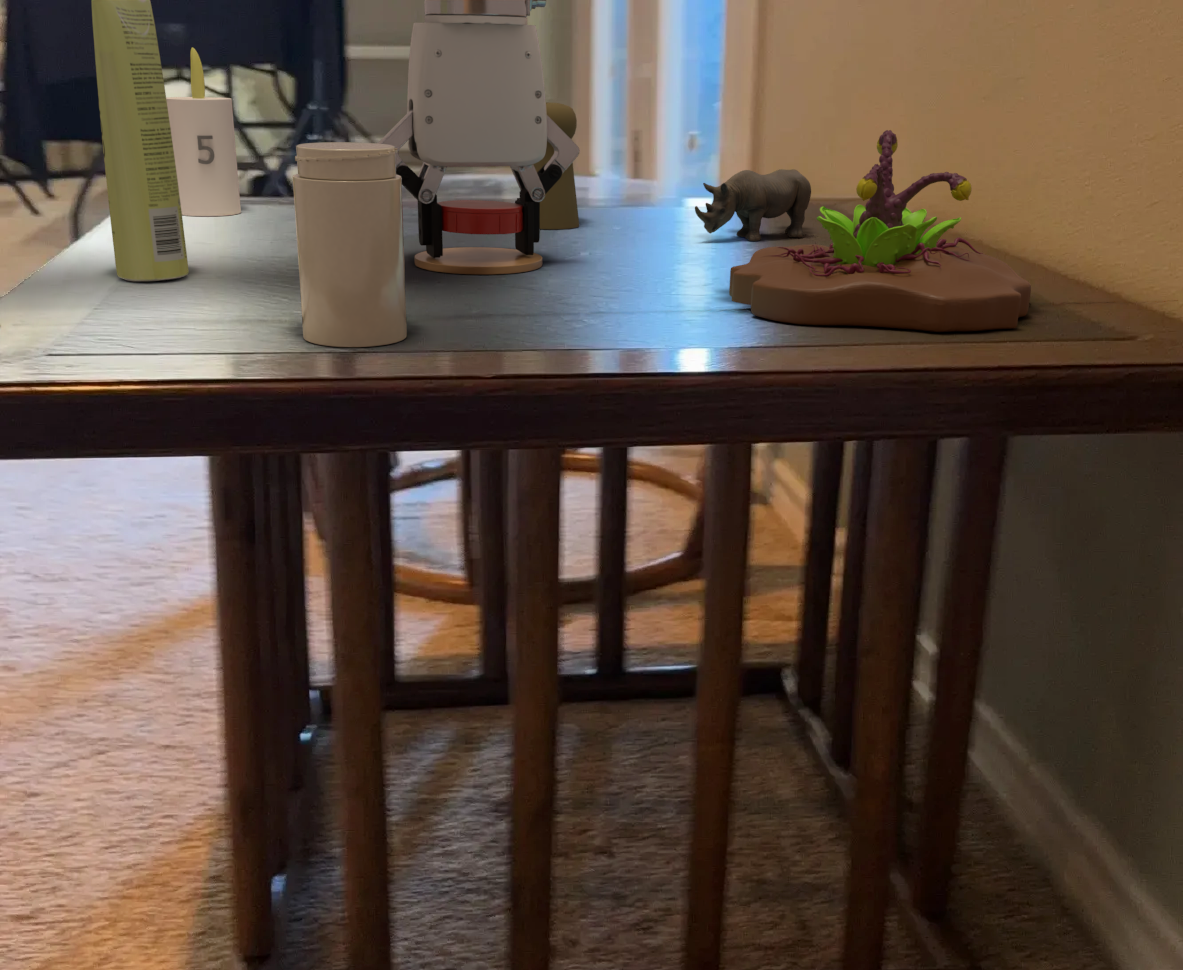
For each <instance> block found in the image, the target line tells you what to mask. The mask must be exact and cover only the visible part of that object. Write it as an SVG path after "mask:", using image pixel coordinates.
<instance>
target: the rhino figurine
mask: <svg viewBox="0 0 1183 970" xmlns="http://www.w3.org/2000/svg"><path fill="white" fill-rule="evenodd" d="M702 185H703V187H704V189H705V190H706V191H707V192H709V193H710V194H711V195H712V196H713V199H712V203H709V202H706V203H705V209H706V212H705V211H701V209H700V208H699V207H698V206H697V205H695V206H694V212H695V214H696V216H697V217H698V218H699V219H700V221H702V222H703V227H704V229H705V230H706V232H707V233H708V234H712V233H715V232H716V231H718V230H719V229H720V228H722V227H723V226H724V225H726V224H727V223H728V222H730V221H731V220H732V219H733V217H734V215H735V213H736V216H737V218H739V220H740V222H741V224H742V227H741V228H740V229H739V230H737V232H736V234H735V235H736V236H737V237H741V238H745V240H748V241H749V242H758V241H761V239H762V235H761V232H760V229H761V224H762V220H763V218H764V219H775V218H779V217H780V216H782V215H784V214H785V213H786V214H787V215H788V217H789V219H790V224H789V225H787V227H786V228H785V229H784V233H785V234H787V236H788V237H789V238H802V237H803V236H804V231H803V226H804V223H805V218H806V217H805V213H806V210H807V209H808V207H809V204H810V201H811V198H812V197H811V196H812V186H811V183H810V181H809V180H808V179H807V177H806V176H804V175H803V174H802V173H800V171H798V169H794V168H793V169H783V168H781V169H779V168H778V169H777V170H774V171H772V172H770V173H767V174H766V173H765V174H760V173H758V172H756V171H754V170H751V169H744V170H741V171H739V172H737V173H735V174H734V175H732V176H731V177H729V178H728V179H727V180H726V181H725V182H723V183H721V184H720V185H719V186H714V185H710V184H707V183H706V182H703V184H702Z"/></svg>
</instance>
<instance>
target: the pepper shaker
mask: <svg viewBox="0 0 1183 970" xmlns="http://www.w3.org/2000/svg"><path fill="white" fill-rule="evenodd" d="M546 114H547V115H548V116H549V117H550V118H551V119H552V120H553V121H554V122H555V123H556V124H557V125H558V127H559V128H560V129H561V130H562V131H563V132H564V133H565V134H566V135H567V136H568V137H569V138H570V139H571V140H572V139H573V137H574V136H575V134H576V131H577V125H578V123H577V122H578V121H577V120H578V119H577V116H576V113H575V111H574V109H573V108H572V107H571V106H570V105H567V104H564V103H560V102H547V101H546ZM553 154H554V148H553V146H552V145H551V144H550V143H549V142H548V141H547V147H546V153H545V156H544V158H543V159H542V160H540V161H539V162H537V163H535V164H533V165H534V167H535V169H536V172H538V171H539V170H540V169H541V168H542V167H543V166H544V165H545V164H546V163H548V161H549V160H550V159H551V157H552V156H553ZM573 162H574V161H573ZM573 162H572V163H571V165H570V166H569V167H568V168H567V169H566V170H565V171H564V172H563V173H562V176H561V178H560V179H559V180H558V181H557V182H556V183H555V184H554V186H553V187H552V188H551V189H550V190H549V191H548V192H547V193H546V194H545V198H544V199H543V200H542V201H541V202H540V230H567V229H568V230H569V229H576V228H579V227H580V218H579V210H578V200H577V191H576V182H575V172H574V163H573Z"/></svg>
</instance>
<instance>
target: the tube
mask: <svg viewBox="0 0 1183 970" xmlns="http://www.w3.org/2000/svg"><path fill="white" fill-rule="evenodd" d="M91 19H92V33H93V45H94V46H93V47H94V60H95V72H96V85H97V96H98V98H97V99H98V109H99V119H100V120H99V121H100V130H101V131H100V132H101V140H102V141H101V142H102V152H103V161H104V170H105V182H106V190H107V200H108V201H107V202H108V209H109V218H110V220H109V221H110V227H111V228H110V229H111V234H112V235H111V236H112V244H113V245H112V246H113V253H114V254H113V255H114V262H115V263H114V264H115V270H116V275H117V277H119V278H120V279H123V280H125V281H128V282H158V281H166V280H167V281H168V280H175V279H180V278H184V277H186V276H187V275H189V273H190V272H189V263H188V253H187V246H186V237H185V229H184V228H185V227H184V222H183V215H182V211H181V203H180V196H179V188H178V180H177V172H176V165H175V158H174V150H173V143H172V136H171V128H170V121H169V114H168V107H167V100H166V97H167V94H166V93H167V92H166V88H165V87H166V85H165V81H164V75H163V68H162V67H163V66H162V61H161V55H160V47H159V42H158V36H157V29H156V23H155V18H154V13H153V8H152V3H151V0H91Z"/></svg>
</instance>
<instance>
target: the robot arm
mask: <svg viewBox="0 0 1183 970" xmlns="http://www.w3.org/2000/svg"><path fill="white" fill-rule="evenodd" d="M423 4H424V5H423V6H424V22H413V25H412V31H411V35H410V37H411V38H410V44H409V45H410V46H409V47H410V48H409V55H408V56H409V57H408V68H407V69H408V71H407V92H406V93H407V94H406V95H407V100H406V114H405V115H404V116H403V117H402V118H401V119H400V120H399V121H398V122H397V123H396V124H395V125H394V126H392V128H391V129H390V130H389V131H388V132H387V133H386V134H385V135H384V136H383V137H382V138H381V139H380V140H379V141H378V142H377V144H387V145H392V146H394V147H395V148H397V153H395V160H396V175H400V176H401V178H402V187H404V188H405V189H406V190H407V192H408V193H409V194H411V195H412V196H413V197H414V199H416V201H417V225H418V227H417V229H418V242H419V245H420V246H425V251H427V253H428V254H429V255H430V256H431V257H433V258H440V256H443V249H444V248H443V242H444V241H443V231H442V208H441V205H439V204H438V194H437V193H438V190H439V188H440V185H441V183H442V180H443V178H444V176H445V174H446V171H447V168H451V167H452V168H453V167H455V168H456V167H459V168H461V167H464V168H467V167H470V168H471V167H474V168H475V167H477V168H478V167H509V169H511V172H512V174H513V177H514V179H515V181H516V183H517V186H518V188H519V190H520V191H519V197H516V200H515V201H514V203H516V204H519V205H522V206H523V210H522V211H523V229H522V231H521V232H518V233H514V247H515V248H514V249H516V250H518V251H520V252H522V253H523V254H525V255H533V254H534V253H535V244H536V243H539V242H540V239H541V232H540V231H541V229H540V202H541V201H542V200H543V199H544V198H545V194H546V193H547V192H548V191H549V190H550V189H551V188H552V187H553V186H554V184H555V183H556V182H557V181H558V180H559V179H560V178H561V176H562V173H563V172H564V171H565V170H566V169H567V168H568V167H569V166H570V165H571V163H572V162H574V161H575V160H576V159H577V158H578V157H579V155H580V152H581V151H580V147H579V146H578V145H577V144H576V142H574V140H572V139H570V138H569V137H568V136H567V135H566V134H565V133H564V132H563V131H562V130H561V129H560V128H559V127H558V125H557V124H556V123H555V122H554V121H553V120H552V119H551V118H550V117H549V116H548V115H547V114H546V102H547V101H546V89H545V88H546V87H545V78H544V68H543V60H542V54H541V47H540V46H541V45H540V41H539V35H538V30H537V26H536V25H535V24H528V17H530V16H531V12H532V10H535V9H536V8H545V7H546V5H547V0H423ZM547 141H548V142H549V143H550V144H551V145H552V146H553V148H554V154H553V156H552V157H551V159H550V160H549V161H548V163H546V164H545V165H544V166H543V167H542V168H541V169H540V170H539V171H538V172H536V169H535V167H534V165H533V164H535V163H537V162H539V161H540V160H542V159H543V158H544V156H545V153H546V147H547ZM406 143H407V148H408V151H409V154H410V155H411V156H412V157H413V158H415V159H417V160H419V161H421V162H422V165H421V167H420V170H419V171H418V174H416V173H415V172H414V170H413V169H411V168H410V167H409V166H408V164H406V162H405V161H404V160H403V159H402V158H401V156H400V150H401V149H402V147H403V146H404V145H405V144H406Z"/></svg>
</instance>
